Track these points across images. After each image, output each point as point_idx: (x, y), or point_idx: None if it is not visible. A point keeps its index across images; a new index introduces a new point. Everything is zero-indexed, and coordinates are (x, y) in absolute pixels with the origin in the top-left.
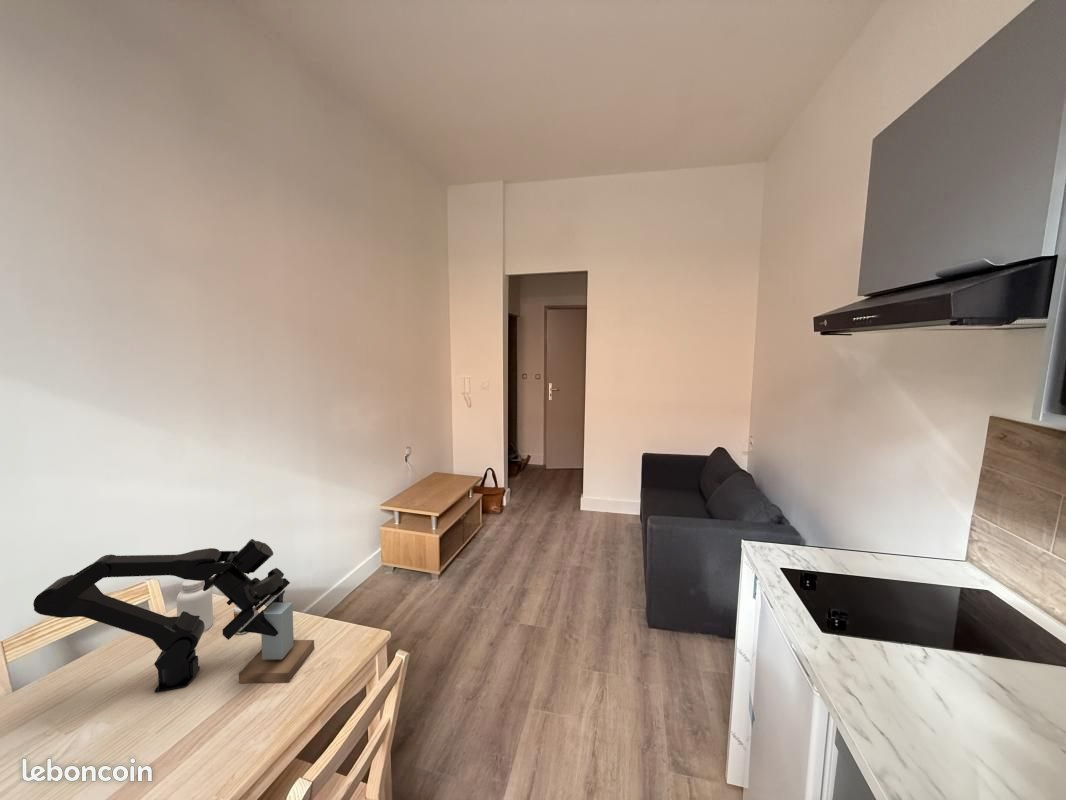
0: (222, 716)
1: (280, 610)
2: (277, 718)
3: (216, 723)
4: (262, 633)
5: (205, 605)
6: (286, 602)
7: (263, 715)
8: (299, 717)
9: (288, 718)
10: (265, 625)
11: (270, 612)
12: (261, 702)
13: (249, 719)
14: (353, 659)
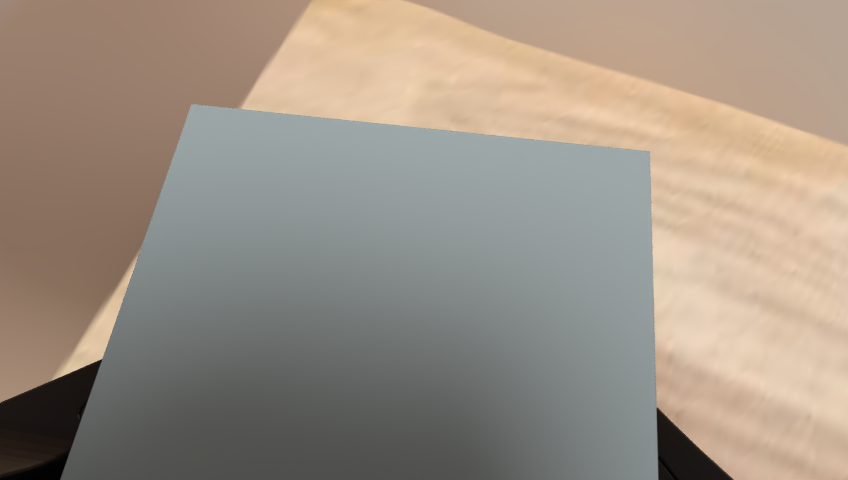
0: (752, 461)
1: (505, 225)
2: (746, 206)
3: (793, 467)
4: None
5: None
6: (149, 234)
7: (735, 269)
8: (736, 128)
9: (743, 165)
10: (680, 439)
11: (587, 465)
12: (666, 312)
13: (759, 319)
14: (439, 37)
